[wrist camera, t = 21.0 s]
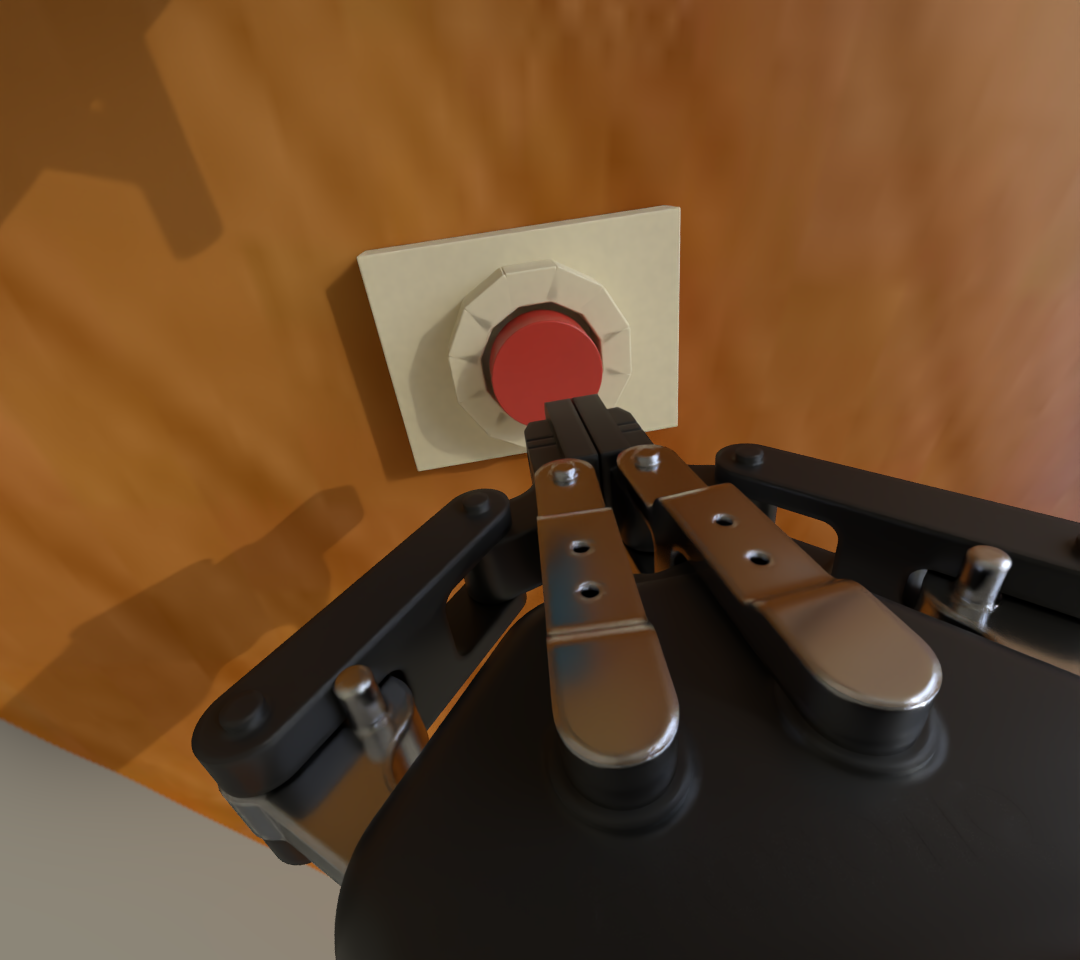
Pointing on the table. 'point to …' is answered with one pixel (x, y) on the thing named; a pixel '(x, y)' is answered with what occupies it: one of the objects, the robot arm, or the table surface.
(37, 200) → the table surface
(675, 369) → the button block
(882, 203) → the table surface
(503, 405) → the button
